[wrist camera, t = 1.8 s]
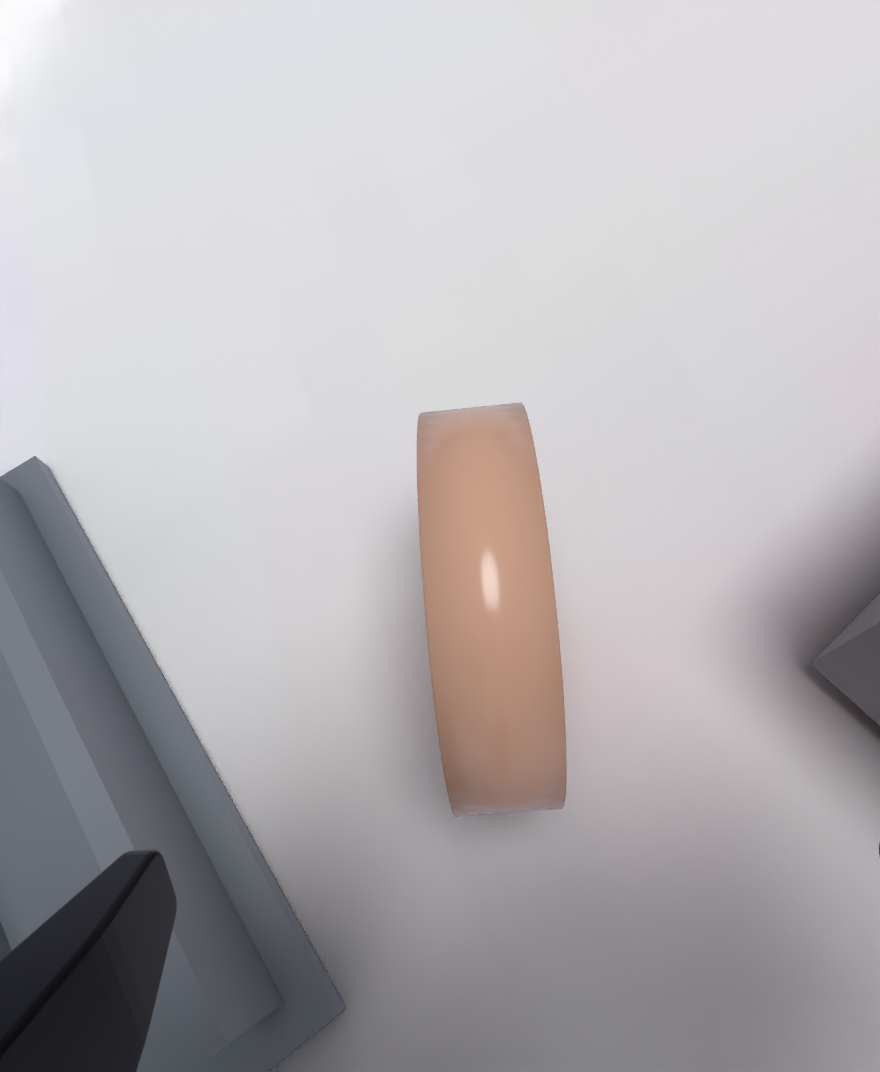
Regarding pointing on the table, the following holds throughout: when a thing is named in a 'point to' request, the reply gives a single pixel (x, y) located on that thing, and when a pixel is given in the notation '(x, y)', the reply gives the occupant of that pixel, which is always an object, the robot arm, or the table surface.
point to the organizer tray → (856, 661)
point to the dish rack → (132, 802)
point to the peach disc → (490, 611)
